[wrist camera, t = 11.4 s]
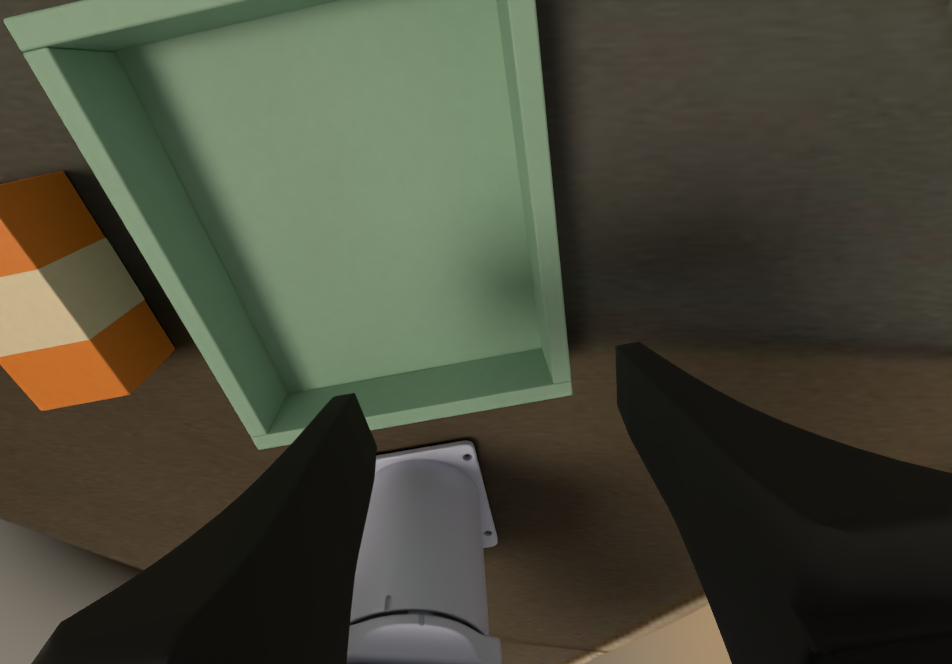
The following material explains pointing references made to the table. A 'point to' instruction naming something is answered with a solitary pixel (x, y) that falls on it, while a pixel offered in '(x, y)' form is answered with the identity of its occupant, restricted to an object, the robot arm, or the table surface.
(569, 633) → the table surface
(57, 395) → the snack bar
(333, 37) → the tub
